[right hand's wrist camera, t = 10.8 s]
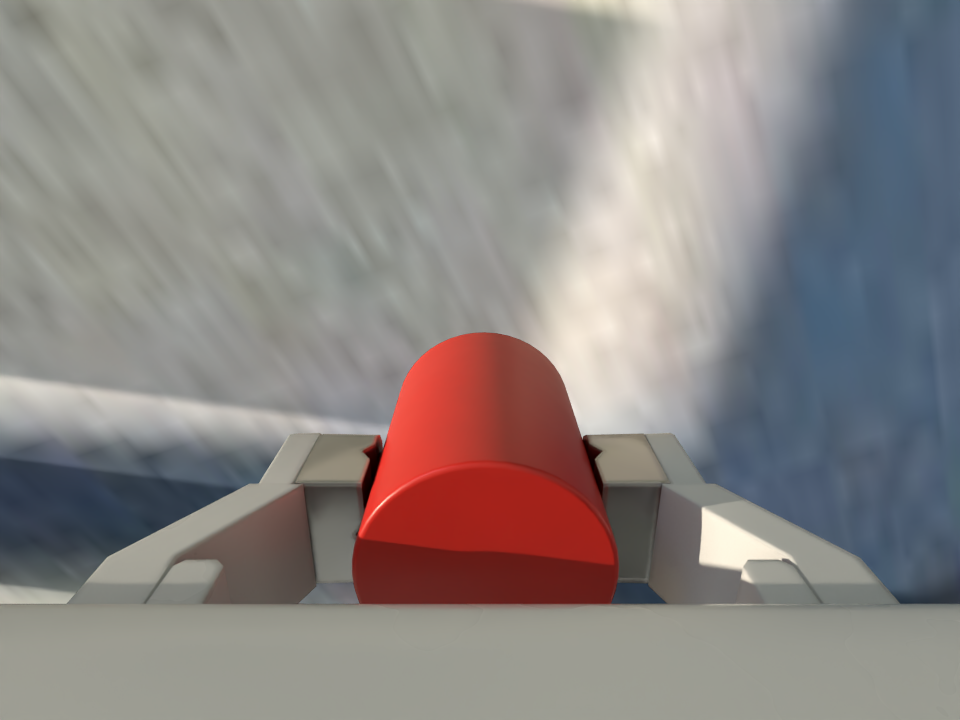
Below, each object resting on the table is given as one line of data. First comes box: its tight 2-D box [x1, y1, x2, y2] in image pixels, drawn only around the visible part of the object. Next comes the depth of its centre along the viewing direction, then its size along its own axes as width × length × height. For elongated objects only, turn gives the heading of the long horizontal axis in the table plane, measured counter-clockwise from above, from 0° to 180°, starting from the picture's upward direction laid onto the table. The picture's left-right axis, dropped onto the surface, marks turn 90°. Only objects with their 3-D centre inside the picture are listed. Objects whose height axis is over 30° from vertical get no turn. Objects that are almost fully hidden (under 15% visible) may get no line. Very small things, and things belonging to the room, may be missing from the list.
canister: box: [352, 332, 619, 604], centre depth 10 cm, size 4×4×5 cm
